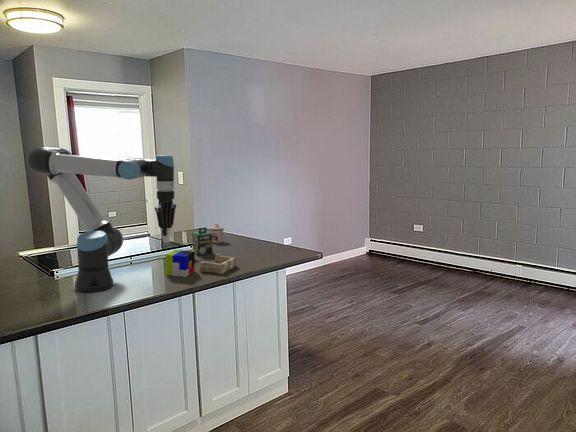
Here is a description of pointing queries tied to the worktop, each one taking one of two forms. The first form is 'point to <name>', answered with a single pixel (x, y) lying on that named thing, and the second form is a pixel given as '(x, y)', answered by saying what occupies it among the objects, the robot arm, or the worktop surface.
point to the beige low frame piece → (218, 264)
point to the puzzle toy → (180, 263)
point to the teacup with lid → (217, 233)
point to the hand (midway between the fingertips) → (166, 242)
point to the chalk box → (202, 241)
